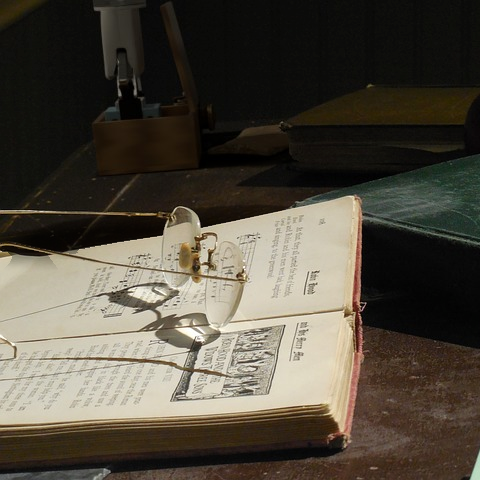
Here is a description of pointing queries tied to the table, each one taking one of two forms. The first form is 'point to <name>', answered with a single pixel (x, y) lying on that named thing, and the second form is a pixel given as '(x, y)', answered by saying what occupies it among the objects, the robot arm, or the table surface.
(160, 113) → the car
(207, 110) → the camera
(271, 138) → the stone
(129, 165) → the chest
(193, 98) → the lid
